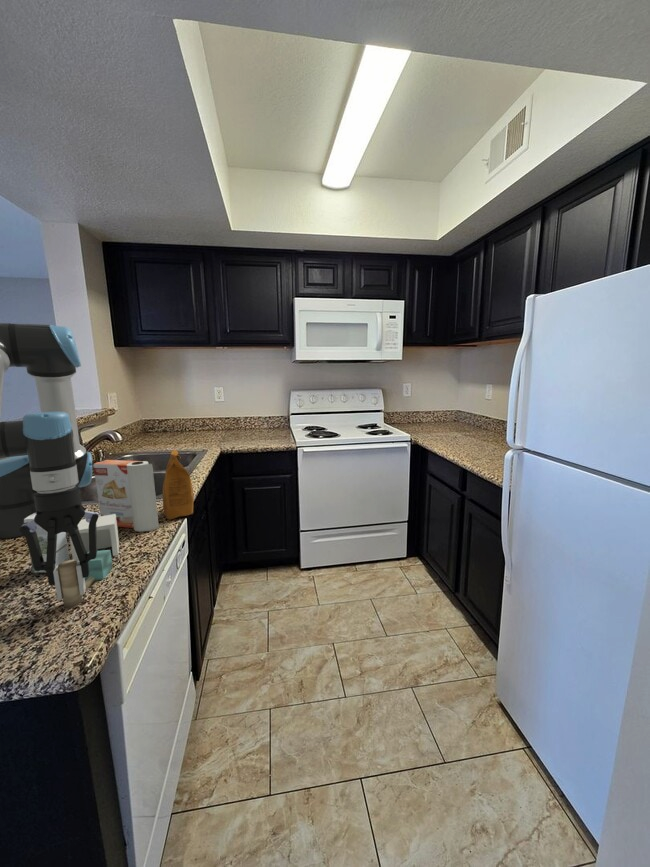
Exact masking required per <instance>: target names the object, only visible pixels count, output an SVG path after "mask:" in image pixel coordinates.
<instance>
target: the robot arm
mask: <svg viewBox="0 0 650 867" xmlns="http://www.w3.org/2000/svg"><path fill="white" fill-rule="evenodd" d="M81 362H82V361H81V359H80V355H79V352H78V348H77V344H76V341H75V338H74V334H73V331H72V330H71V329H70V328H69V327H68V326H62V325H61V326H60V325H53V324H34V323H32V324H31V323H30V324H29V323H27V324H26V323H9V322H0V539H2V540H3V539H11V538H17V537H24V538H25V541H26V545H27V547H28V551H29V552H30V553H29V557H30V556H31V559H32V563H33V567H34V570H35V571H40V570H44V571H46V572H47V573H46V577H47V582H48V585H49V586H54V587H55V591H56V592H55V593H56V598H57V601H63V596H62V589H61V583H60V576H59V570H58V565H57V566H55V564H56V562H55V561H56V545H57V534H58V533H61V532H66V533H67V534H68V536H69V538H70V537H71V540H72V543H73V545H74V548H75V551H76V554H77V556H78V559H79V561H78V562H77V565H76V569H77V576H78V583H79V591H80V595H82V596H83V595H85V593H86V591H85V589H86V585H85V577H88V575H89V572H90V571H89V563H88V561H90V560H92V559H95V558H96V555H97V551H98V549H97V529H96V522H97V520H98V517H100V511H98V510H95V511H89V510H86V508H85V507H84V506H83V504H82V497H81V489H80V488H83V487H87V486H89V485H90V484H91V482H92V479H93V455H92V452H91V451H90V452H89V451H87V449H86V447H85V446H83V445H82V444H80V437H79V436H80V435H79V428H78V422H77V421H78V420H77V414H76V406H75V398H74V397H75V396H74V391H73V390H74V389H73V383H72V377H73V376H74V375H75V374H77V369H78V368H79V367H81V366H82V363H81ZM11 367H12V368H26V372H27V374H28V375H29V376H30V377H32V378H34V381H35V384H36V385H35V386H36V391H37V397H38V404H39V408H40V411H38V412H30V413H26V414H25V415H23V416H22V420H8V421H7V420H6V421H1V418H2V405H3V391H4V378H5V377H4V376H5V372H7V371H8V369H9V368H11ZM34 513H36V516H35V518H34V520H32V521H30V522H26V523H24V519H25V518H27V517H28V516H30V515H32V514H34ZM82 519H86V522H88V523H89V551H87V552H86V549H85V547H84V544H83V541H82V538H81V535H80V533H79V528H78V524H79V522H80V521H81V520H82ZM36 525H39V526H40V527H41V528H43V529H44V530H45V531H47V532H48V533H47V540H48V541H47V558H46V562H44V559H43V556H42V552H41V548H40V544H39V541H38V537H37V533H36V529H37V526H36ZM88 552H89V553H88ZM31 559H30V560H31Z"/></svg>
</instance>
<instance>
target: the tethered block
mask: <svg viewBox="0 0 650 867" xmlns="http://www.w3.org/2000/svg"><path fill="white" fill-rule="evenodd" d="M111 552H112V551H111V549H107V550H105V549H101V550H97V555H96V558H95V559H92V560H90V561H88V563H89V571H90V572H89V575H88V577H85V585H86V589H85V592H86V591H87V590H88V589H89V588H90V587H91V585H92V584H93V583H94V582H95V581H100V580H101V581H102V580H105V578H106V577H107V576H108V575H109V574H110V572H112V570H113V561H112V560H113V559H112V553H111ZM87 553H89V551H87ZM76 565H77V561H76V560H73V559H70V560H68V561H65V562H62V563H60V564H59V565H58V570H59V576H60V583H61V589H62V596H63V598H62V601H63V602H62V603H63V607H64V608H67V609H69V608H73V607H76V606H78V605H80V604H81V603H82V602H83V595H80V591H79V583H78V576H77V569H76Z"/></svg>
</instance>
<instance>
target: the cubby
mask: <svg viewBox="0 0 650 867" xmlns="http://www.w3.org/2000/svg"><path fill="white" fill-rule="evenodd" d="M78 528H79V533H80V535H81V538H82V541H83V544H84V547H85V549H86V552H87V553H88V552H89V523H88V522H86V518H82V519H81V521H80V522H79V524H78ZM96 529H97V550H103V549H107V548H110V547H111V550H112V551H111V552H112V557H116V556H119V553H120V552H119V551H120V550H119V549H120V539H119V538H120V537H119V530H118V529H119V528H118V527H117V520H116V514H112V515H106V516H101V515H99V517H98V520H97V522H96ZM69 542H70V549H71V557H72V560H76V561H77V562H78V561H79V559H78V556H77V554H76V551H75V548H74V545H73V543H72V540H71V537H70V536H69Z"/></svg>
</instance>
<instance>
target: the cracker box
mask: <svg viewBox="0 0 650 867" xmlns="http://www.w3.org/2000/svg"><path fill="white" fill-rule="evenodd" d="M138 461H139V460H122V459H104V460H101V461H98V462H94V463H92V466H93V472H94V479H95V485H96V493H97V498H98V508H99V516H106V515H112V514H116V520H117V528H119V527H120V528H127V529H129V528H130V529H134V524H133V516H132V507H131V498H130V490H129V481H128V472H127V464H128V463H132V462H138Z"/></svg>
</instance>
